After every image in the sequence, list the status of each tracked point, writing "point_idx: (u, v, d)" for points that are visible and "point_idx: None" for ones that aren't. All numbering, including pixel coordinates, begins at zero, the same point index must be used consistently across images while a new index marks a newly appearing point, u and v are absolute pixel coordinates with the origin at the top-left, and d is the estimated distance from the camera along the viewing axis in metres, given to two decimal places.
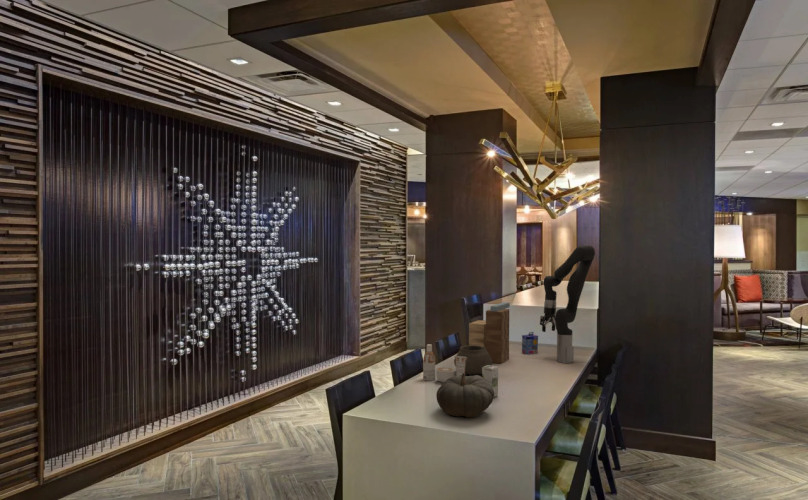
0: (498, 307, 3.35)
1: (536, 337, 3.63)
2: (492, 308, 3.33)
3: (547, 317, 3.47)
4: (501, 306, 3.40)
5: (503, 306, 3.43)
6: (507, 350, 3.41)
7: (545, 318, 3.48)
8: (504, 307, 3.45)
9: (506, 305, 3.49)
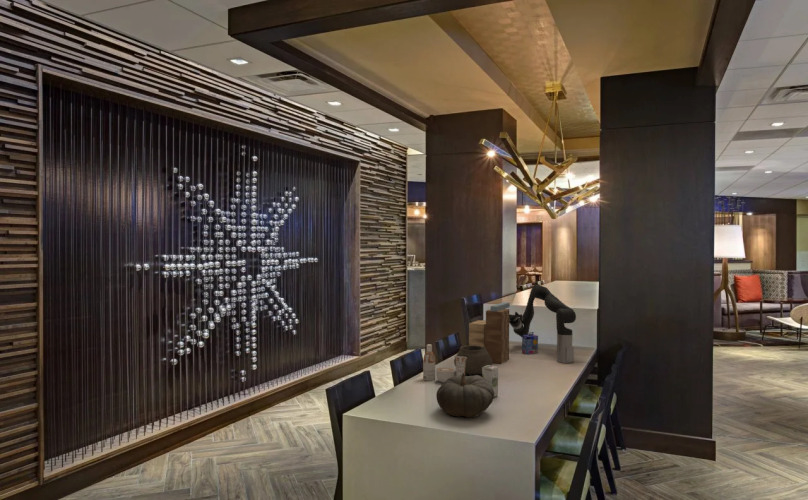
0: (498, 307, 3.35)
1: (536, 337, 3.63)
2: (492, 308, 3.33)
3: None
4: (501, 306, 3.40)
5: (503, 306, 3.43)
6: (507, 350, 3.41)
7: None
8: (504, 307, 3.45)
9: (506, 305, 3.49)
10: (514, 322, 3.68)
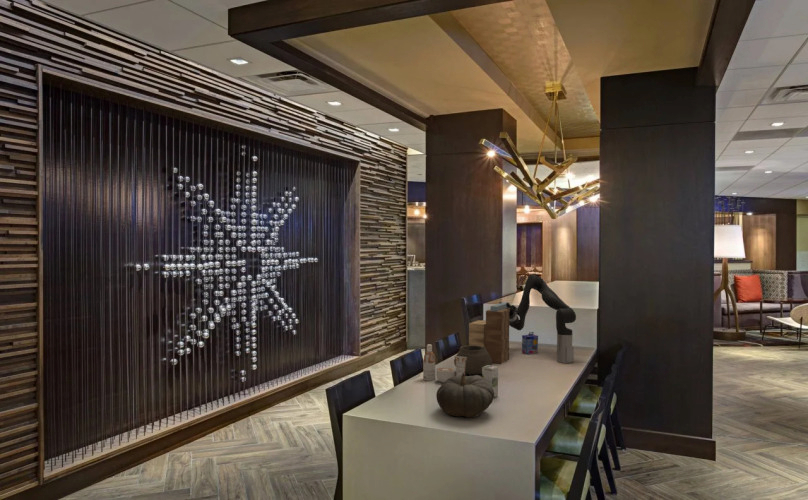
0: (498, 307, 3.35)
1: (536, 337, 3.63)
2: (492, 308, 3.33)
3: None
4: (501, 306, 3.40)
5: (503, 306, 3.43)
6: (507, 350, 3.41)
7: None
8: (504, 307, 3.45)
9: None
10: (509, 314, 3.58)
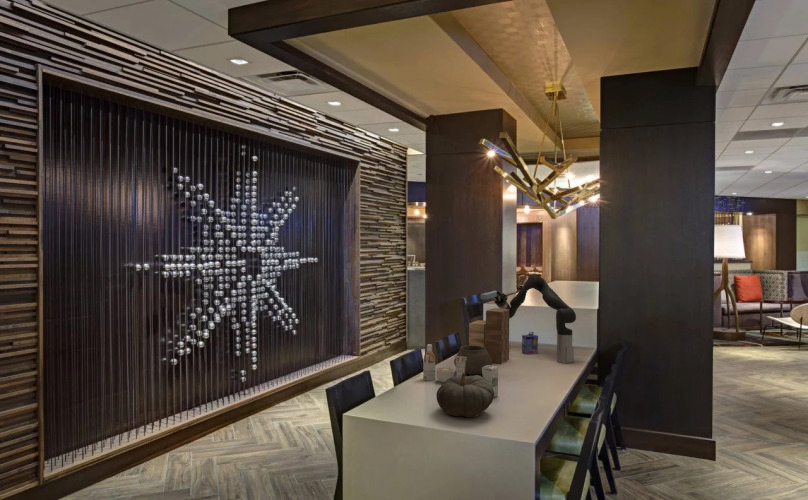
0: (488, 295, 3.49)
1: (536, 337, 3.63)
2: (483, 296, 3.47)
3: None
4: (491, 294, 3.54)
5: (493, 294, 3.58)
6: (507, 350, 3.41)
7: None
8: (494, 295, 3.59)
9: (496, 293, 3.63)
10: (499, 302, 3.72)
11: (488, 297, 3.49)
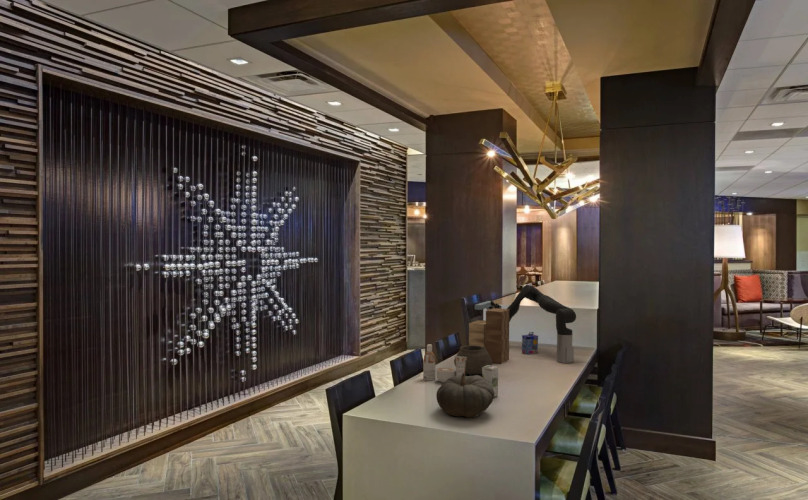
0: (482, 306, 3.50)
1: (536, 337, 3.63)
2: (477, 306, 3.49)
3: None
4: (485, 304, 3.56)
5: (487, 304, 3.59)
6: (507, 350, 3.41)
7: None
8: (488, 305, 3.61)
9: (490, 303, 3.65)
10: None
11: (482, 308, 3.51)
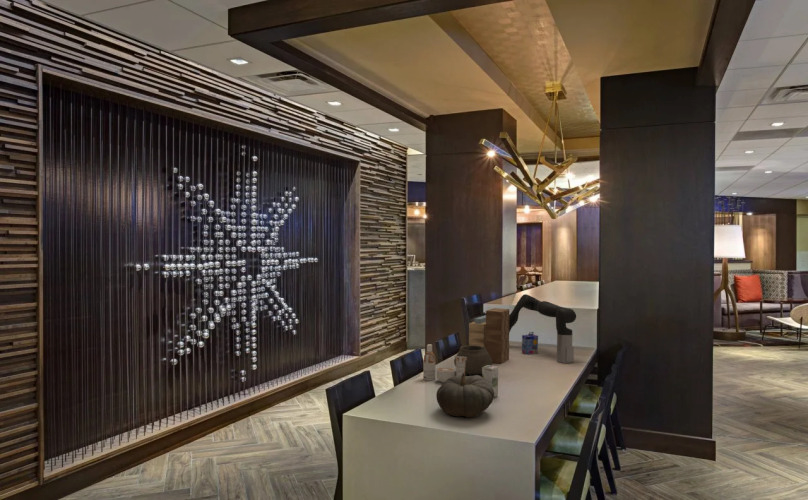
0: (482, 319, 3.51)
1: (536, 337, 3.63)
2: (476, 320, 3.49)
3: None
4: (485, 318, 3.56)
5: None
6: (507, 350, 3.41)
7: None
8: None
9: None
10: None
11: (482, 321, 3.51)
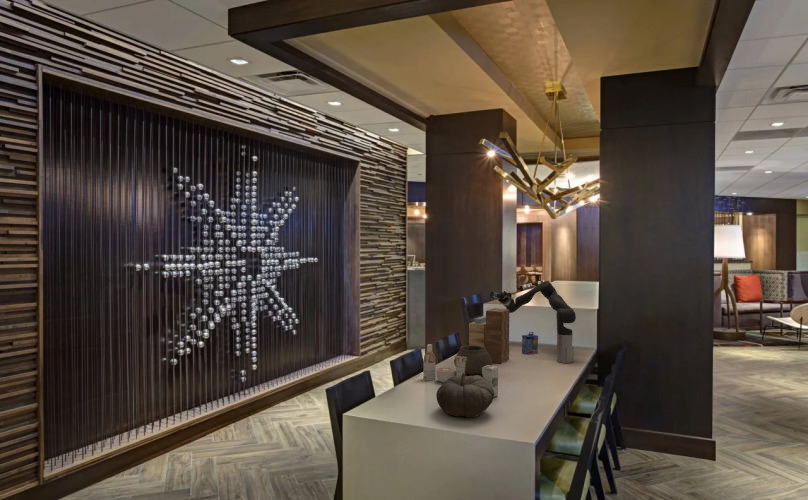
0: (482, 319, 3.51)
1: (536, 337, 3.63)
2: (476, 320, 3.49)
3: None
4: (485, 318, 3.56)
5: None
6: (507, 350, 3.41)
7: None
8: None
9: None
10: (503, 300, 3.78)
11: (482, 321, 3.51)
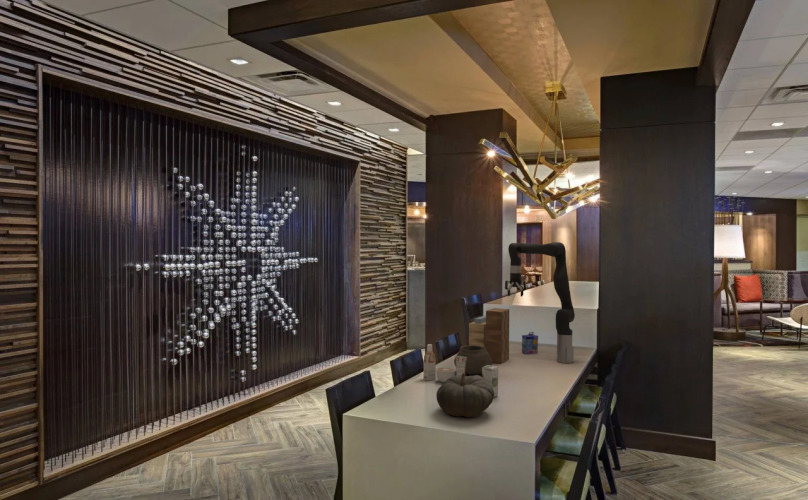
0: (482, 319, 3.51)
1: (536, 337, 3.63)
2: (476, 320, 3.49)
3: (510, 282, 3.68)
4: (485, 318, 3.56)
5: None
6: (507, 350, 3.41)
7: None
8: None
9: None
10: None
11: (482, 321, 3.51)
